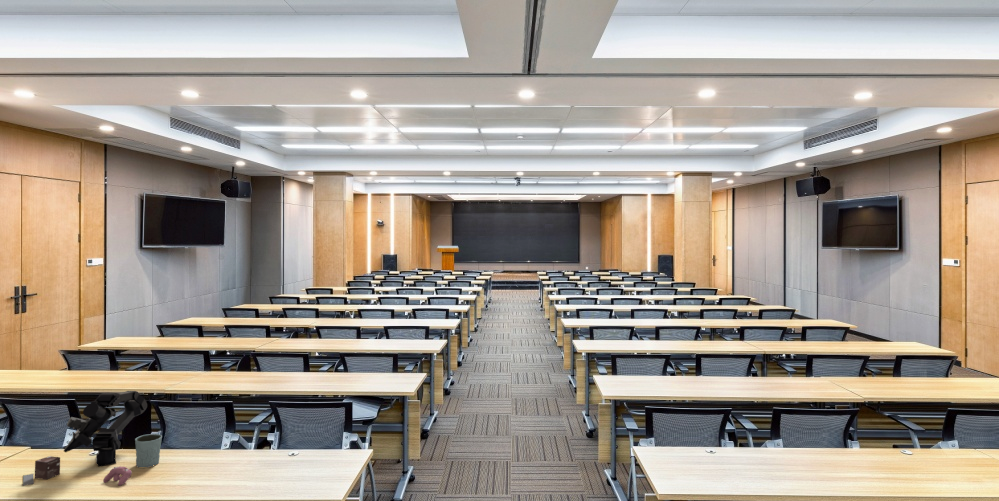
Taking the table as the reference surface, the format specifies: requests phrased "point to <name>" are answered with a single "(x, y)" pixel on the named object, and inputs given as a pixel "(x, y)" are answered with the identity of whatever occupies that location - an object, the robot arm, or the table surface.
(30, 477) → the grey flat bar
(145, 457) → the grey cup
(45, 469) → the box
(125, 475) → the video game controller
